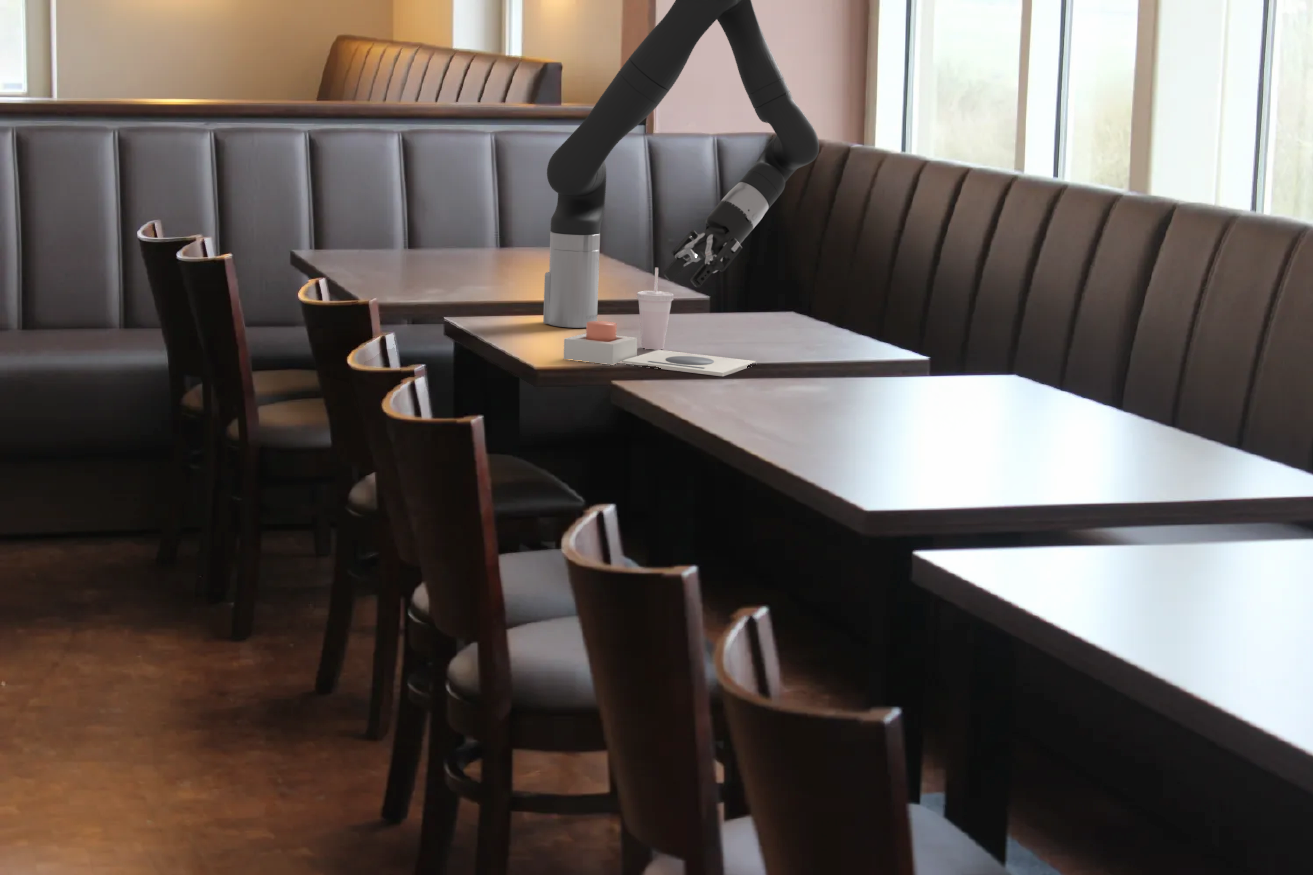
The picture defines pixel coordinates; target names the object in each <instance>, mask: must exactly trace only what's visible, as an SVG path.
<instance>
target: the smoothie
mask: <svg viewBox="0 0 1313 875" xmlns="http://www.w3.org/2000/svg"><path fill="white" fill-rule="evenodd" d="M658 281H659V267H654V285H653V287H654V288H653V290H643V291H637V292H636V299H637V300H638V310H639V321H640V334H641V337H640V338H641V347H643V348H645V349H644V350H646V349H655V350H654V351H656V350H658V349H663V350H665V349H664V348H665V342H666V336H667V330H668V324H669V318H670V313H671V307H672V301H674V293H672V292H670V291H661V290H658V288H659V287H658V285H659V282H658ZM643 348H642V349H643Z"/></svg>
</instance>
